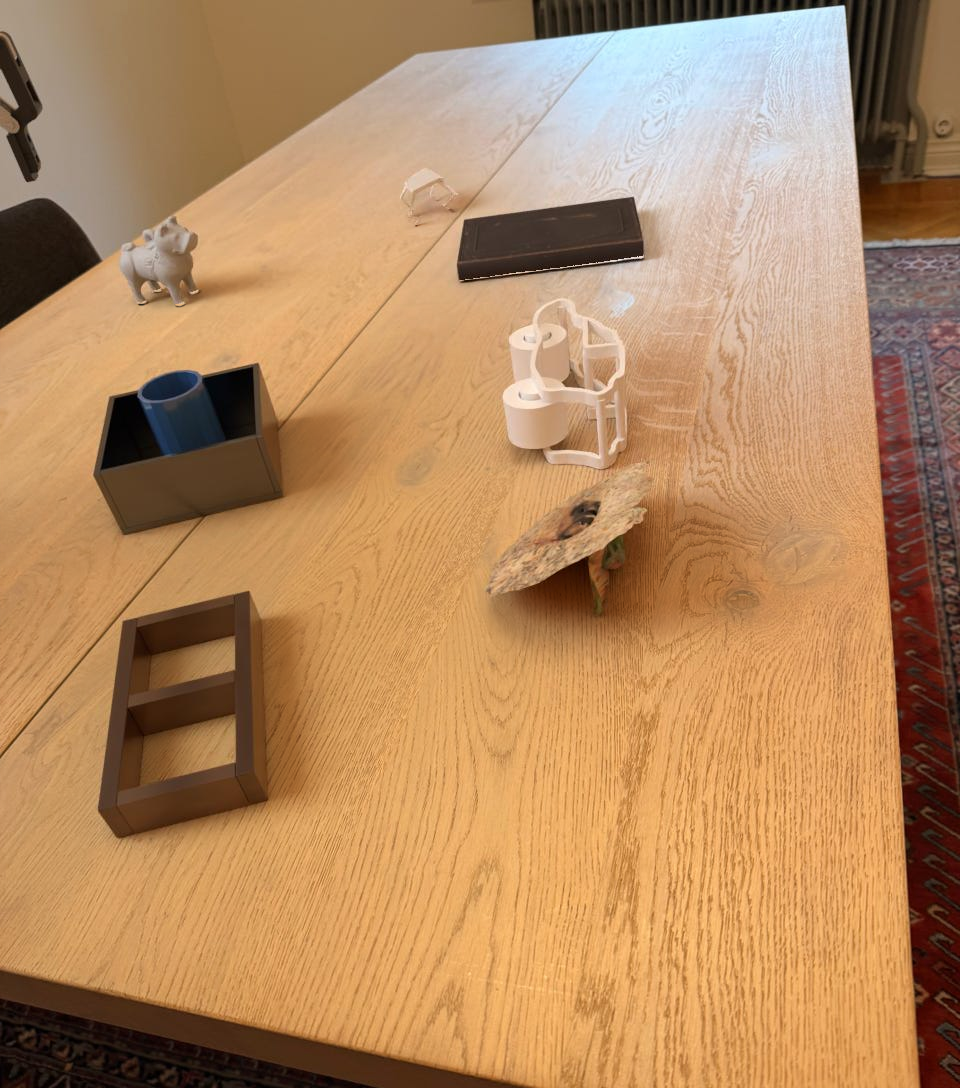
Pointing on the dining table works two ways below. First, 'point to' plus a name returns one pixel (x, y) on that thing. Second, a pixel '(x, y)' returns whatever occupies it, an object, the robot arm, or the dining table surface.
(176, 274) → the dog figurine
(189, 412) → the cup
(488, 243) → the hardcover book
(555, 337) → the toilet paper holder
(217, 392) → the open box
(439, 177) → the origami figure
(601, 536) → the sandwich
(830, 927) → the dining table surface
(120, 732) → the rack
